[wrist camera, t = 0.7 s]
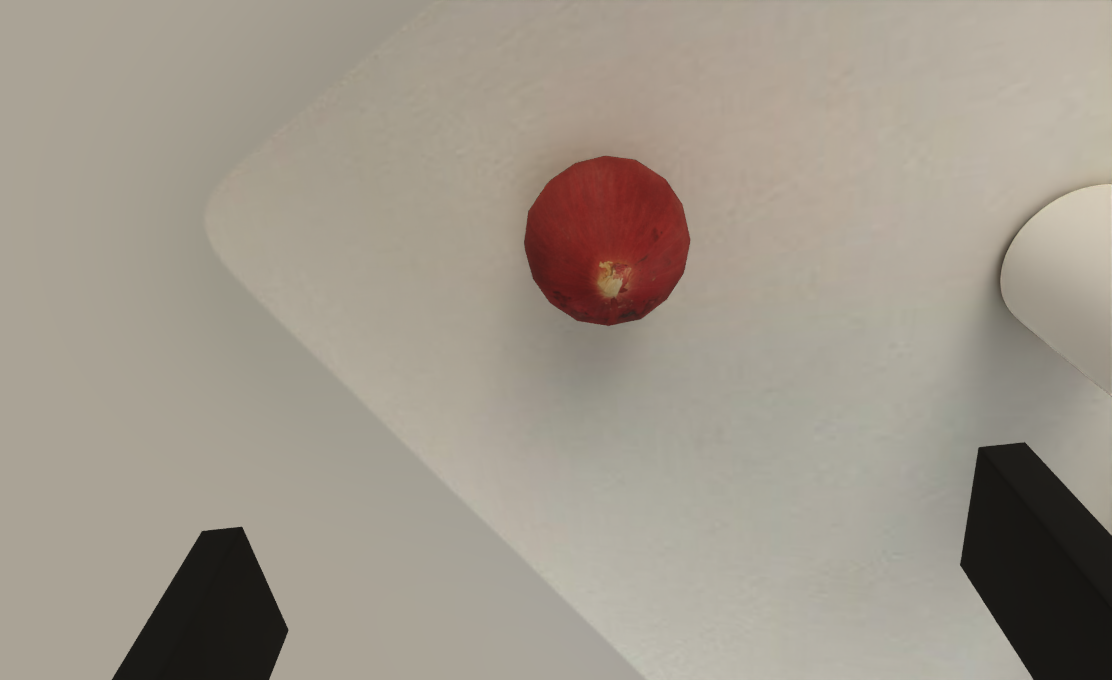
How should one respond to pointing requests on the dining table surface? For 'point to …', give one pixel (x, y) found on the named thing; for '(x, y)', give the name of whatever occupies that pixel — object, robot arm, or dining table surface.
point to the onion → (607, 240)
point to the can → (1067, 279)
